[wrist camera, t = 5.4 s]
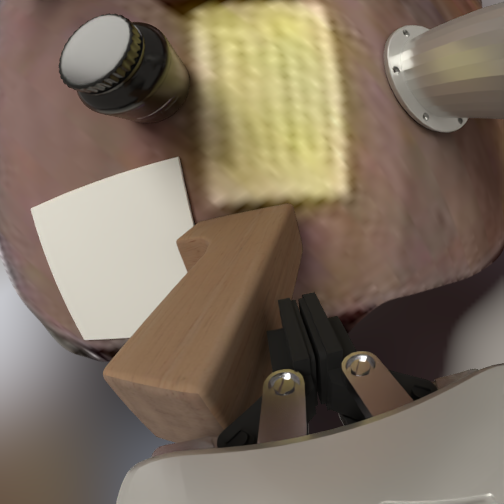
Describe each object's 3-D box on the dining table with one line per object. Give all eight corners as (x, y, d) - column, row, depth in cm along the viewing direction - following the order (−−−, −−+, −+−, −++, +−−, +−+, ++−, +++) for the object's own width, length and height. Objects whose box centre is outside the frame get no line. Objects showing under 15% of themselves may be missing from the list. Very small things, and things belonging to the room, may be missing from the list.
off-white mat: (179, 156, 23) (177, 156, 22) (221, 325, 29) (221, 327, 29) (33, 207, 23) (30, 208, 23) (85, 337, 30) (84, 339, 29)
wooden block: (212, 264, 26) (95, 415, 11) (197, 221, 25) (45, 355, 9) (304, 251, 23) (248, 460, 8) (293, 201, 22) (198, 395, 6)
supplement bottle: (168, 135, 22) (105, 128, 11) (110, 109, 20) (27, 95, 9) (206, 70, 20) (177, 11, 9) (145, 47, 18) (85, -6, 7)
